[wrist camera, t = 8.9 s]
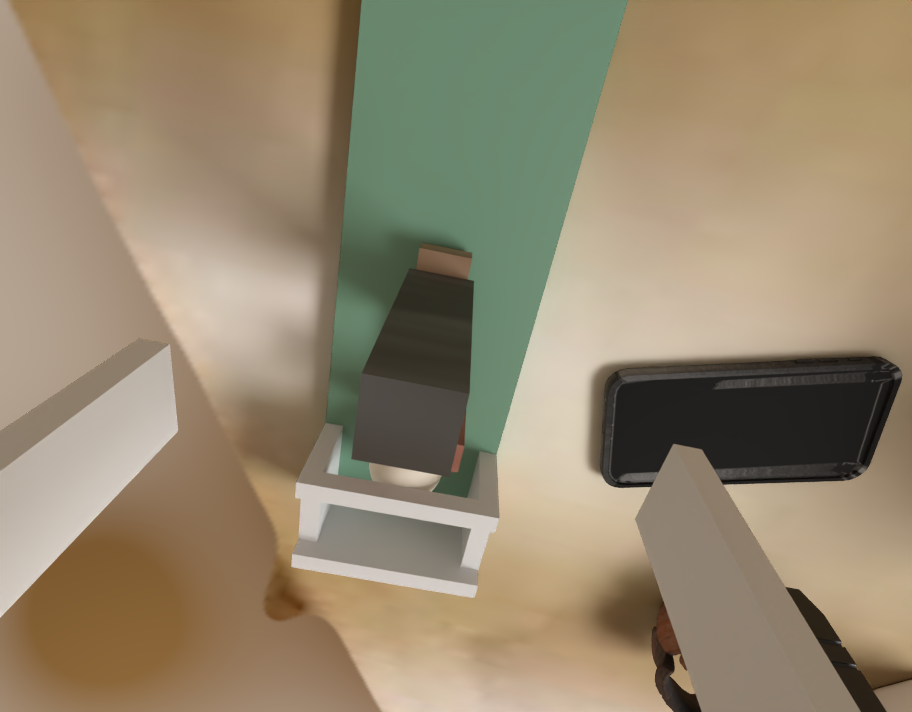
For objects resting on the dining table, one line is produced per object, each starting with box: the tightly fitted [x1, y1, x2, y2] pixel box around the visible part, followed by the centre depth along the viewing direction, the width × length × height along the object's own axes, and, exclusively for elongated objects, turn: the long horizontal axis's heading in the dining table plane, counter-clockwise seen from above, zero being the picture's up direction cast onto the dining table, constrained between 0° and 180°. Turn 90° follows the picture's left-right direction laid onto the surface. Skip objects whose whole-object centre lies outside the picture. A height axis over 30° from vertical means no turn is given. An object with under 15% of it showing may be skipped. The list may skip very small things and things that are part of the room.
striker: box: [351, 243, 474, 477], centre depth 20 cm, size 9×5×11 cm, turn 169°
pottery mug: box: [651, 604, 702, 712], centre depth 33 cm, size 12×10×8 cm
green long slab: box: [291, 0, 628, 598], centre depth 22 cm, size 31×10×6 cm, turn 169°
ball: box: [369, 463, 441, 492], centre depth 26 cm, size 4×4×4 cm
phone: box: [600, 357, 902, 488], centre depth 28 cm, size 8×1×15 cm
